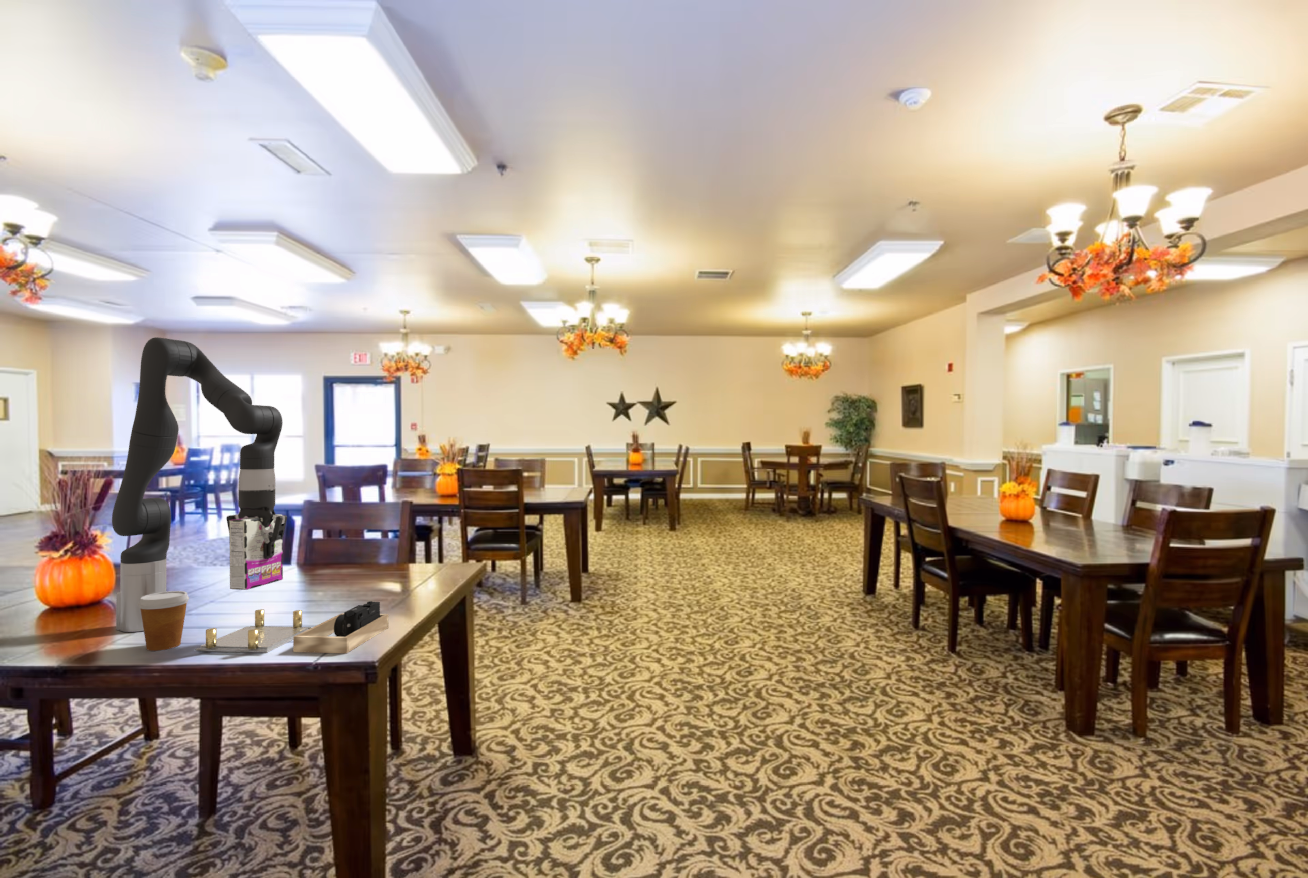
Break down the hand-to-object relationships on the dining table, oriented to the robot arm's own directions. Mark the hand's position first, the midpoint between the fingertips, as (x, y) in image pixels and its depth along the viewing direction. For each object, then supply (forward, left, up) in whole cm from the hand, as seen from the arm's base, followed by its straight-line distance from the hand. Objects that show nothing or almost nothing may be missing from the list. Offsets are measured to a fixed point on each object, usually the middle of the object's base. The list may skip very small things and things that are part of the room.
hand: (256, 557), depth 150 cm
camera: (+22, +5, -20) cm, 31 cm away
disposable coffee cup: (-19, -5, -20) cm, 28 cm away
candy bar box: (0, 0, -7) cm, 7 cm away
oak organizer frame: (+20, +3, -20) cm, 29 cm away
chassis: (0, 0, -20) cm, 20 cm away
